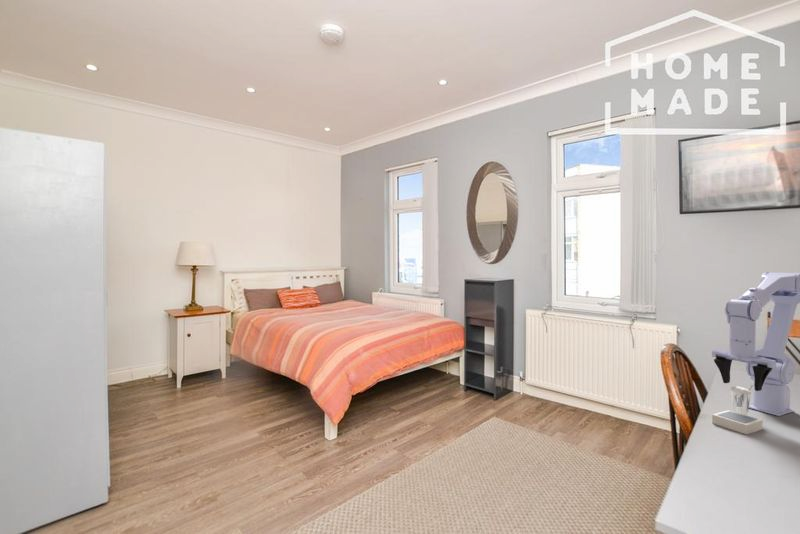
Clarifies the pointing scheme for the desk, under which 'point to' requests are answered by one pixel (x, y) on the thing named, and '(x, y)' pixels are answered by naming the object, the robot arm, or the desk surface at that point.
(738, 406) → the milkshake
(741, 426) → the plinth
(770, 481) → the desk surface
